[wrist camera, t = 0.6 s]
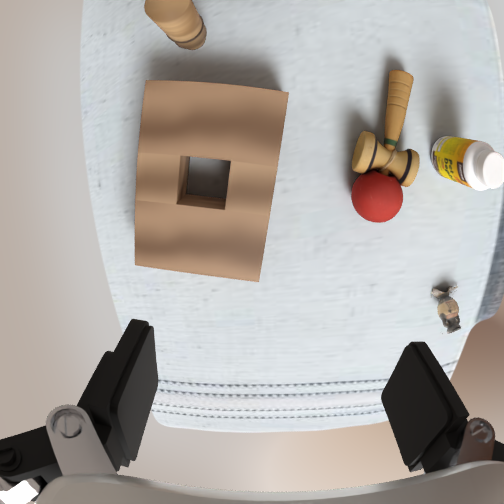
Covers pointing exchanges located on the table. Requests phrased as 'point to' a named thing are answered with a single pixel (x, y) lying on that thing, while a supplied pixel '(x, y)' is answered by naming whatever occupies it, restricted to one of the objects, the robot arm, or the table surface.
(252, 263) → the seat board
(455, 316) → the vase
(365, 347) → the table surface
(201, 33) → the oak peg
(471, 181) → the supplement bottle
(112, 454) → the robot arm
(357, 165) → the kendama
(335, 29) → the table surface
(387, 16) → the table surface
